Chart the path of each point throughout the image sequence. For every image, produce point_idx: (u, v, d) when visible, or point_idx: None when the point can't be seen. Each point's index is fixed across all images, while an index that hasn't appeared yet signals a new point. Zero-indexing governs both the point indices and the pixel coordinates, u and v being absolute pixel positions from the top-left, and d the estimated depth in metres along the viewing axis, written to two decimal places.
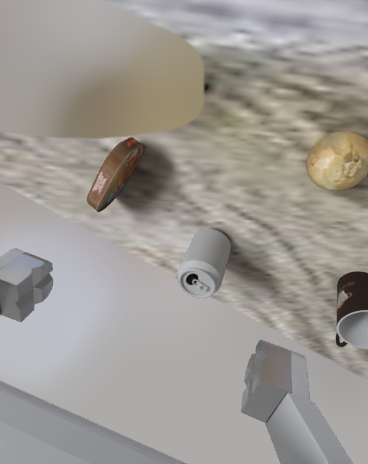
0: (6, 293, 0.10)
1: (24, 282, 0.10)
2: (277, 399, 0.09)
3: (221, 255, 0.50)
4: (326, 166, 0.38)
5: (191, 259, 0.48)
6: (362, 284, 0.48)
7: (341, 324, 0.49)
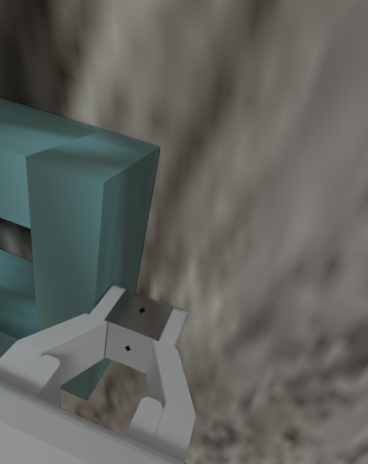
0: (117, 337, 0.09)
1: (136, 326, 0.09)
2: (148, 347, 0.09)
3: None
4: None
5: None
6: None
7: None
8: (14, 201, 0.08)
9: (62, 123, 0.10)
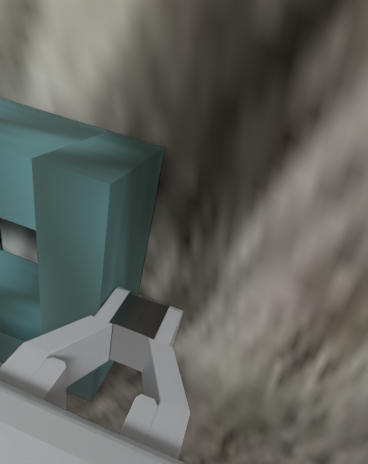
0: (122, 339, 0.09)
1: (141, 327, 0.09)
2: (143, 346, 0.09)
3: None
4: None
5: None
6: None
7: None
8: (19, 203, 0.08)
9: (66, 124, 0.10)
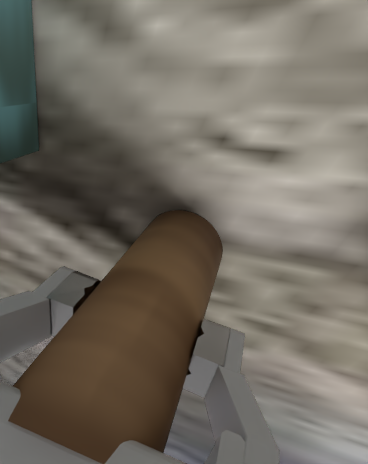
0: (60, 314, 0.10)
1: (78, 304, 0.10)
2: (211, 372, 0.09)
3: None
4: None
5: None
6: None
7: None
8: None
9: (22, 71, 0.12)
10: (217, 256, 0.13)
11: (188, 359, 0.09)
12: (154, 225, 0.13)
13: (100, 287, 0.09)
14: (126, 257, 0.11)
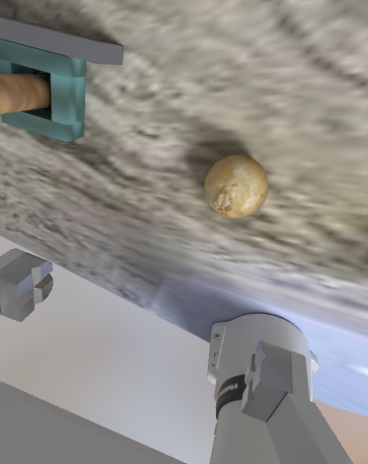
0: (6, 293, 0.10)
1: (24, 282, 0.10)
2: (277, 398, 0.09)
3: None
4: (247, 201, 0.34)
5: None
6: None
7: None
8: (56, 118, 0.38)
9: (81, 112, 0.40)
10: None
11: (30, 91, 0.35)
12: None
13: None
14: None
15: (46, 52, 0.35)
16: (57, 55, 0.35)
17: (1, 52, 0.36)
